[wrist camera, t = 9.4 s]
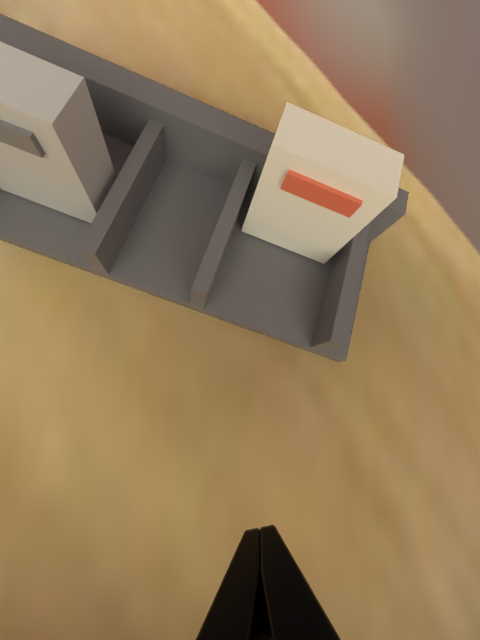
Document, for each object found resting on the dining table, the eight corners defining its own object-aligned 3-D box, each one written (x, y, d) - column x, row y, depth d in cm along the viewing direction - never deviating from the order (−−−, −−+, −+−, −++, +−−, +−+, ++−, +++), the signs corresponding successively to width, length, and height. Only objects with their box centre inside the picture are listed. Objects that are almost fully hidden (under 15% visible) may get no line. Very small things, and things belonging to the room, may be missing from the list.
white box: (102, 231, 19) (48, 129, 12) (-1, 193, 19) (-129, 57, 11) (122, 194, 20) (84, 77, 13) (24, 156, 20) (-77, 8, 12)
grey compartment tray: (338, 361, 22) (382, 353, 17) (-65, 216, 19) (-151, 157, 14) (367, 225, 25) (409, 186, 21) (34, 86, 23) (-7, 4, 18)
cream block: (323, 267, 22) (395, 202, 14) (240, 234, 21) (270, 148, 14) (331, 232, 23) (404, 154, 15) (252, 200, 22) (287, 101, 15)
